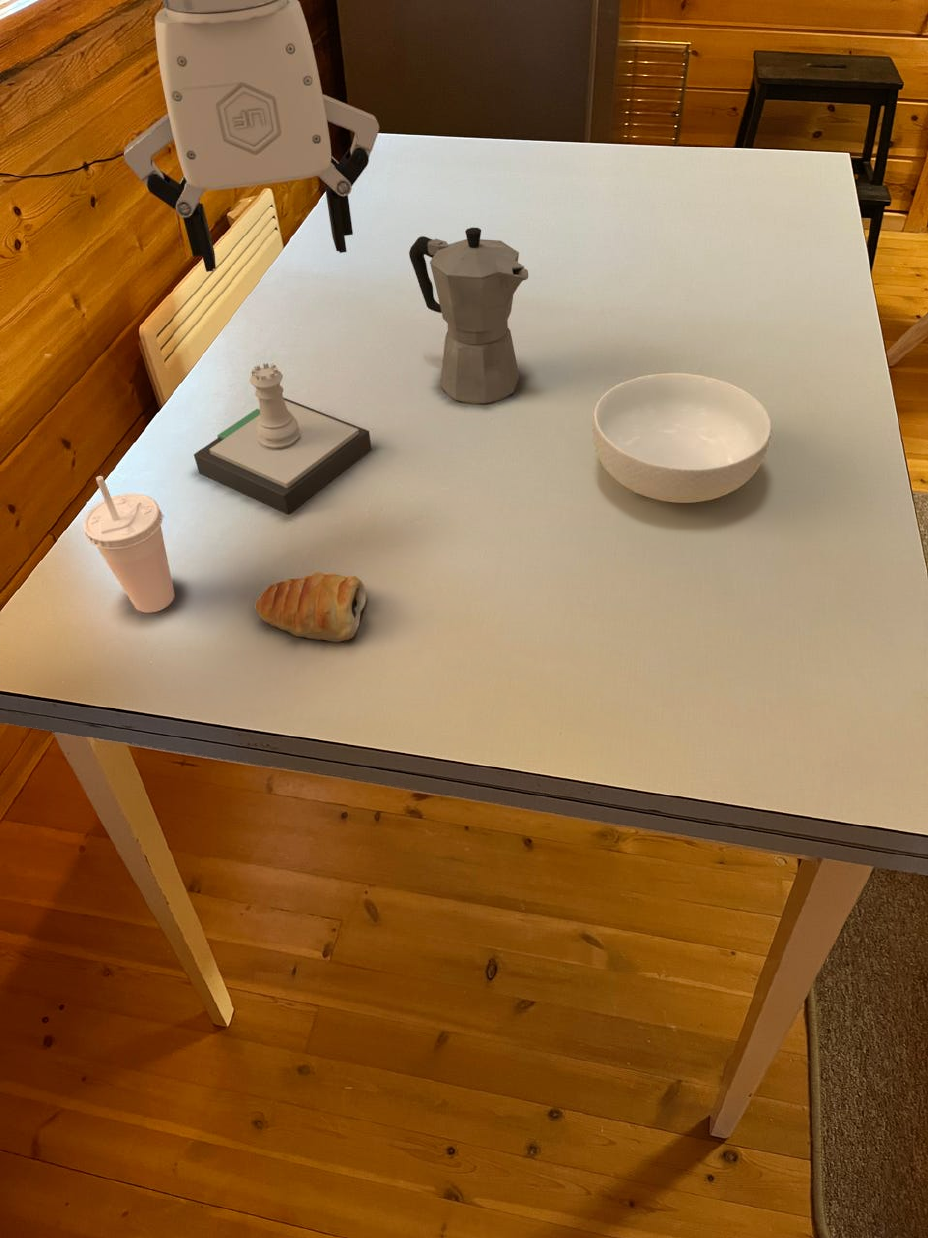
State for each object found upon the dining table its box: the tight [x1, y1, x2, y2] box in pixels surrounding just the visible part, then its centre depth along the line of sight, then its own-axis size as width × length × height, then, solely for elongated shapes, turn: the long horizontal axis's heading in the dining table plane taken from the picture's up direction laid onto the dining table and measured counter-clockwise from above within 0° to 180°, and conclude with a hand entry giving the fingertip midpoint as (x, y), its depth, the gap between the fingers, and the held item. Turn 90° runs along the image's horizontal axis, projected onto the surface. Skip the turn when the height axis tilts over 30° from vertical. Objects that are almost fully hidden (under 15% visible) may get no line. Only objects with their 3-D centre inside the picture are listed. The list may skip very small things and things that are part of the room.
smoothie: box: [82, 475, 176, 614], centre depth 80 cm, size 6×6×14 cm
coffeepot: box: [408, 227, 529, 405], centre depth 102 cm, size 15×9×18 cm, turn 53°
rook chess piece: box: [249, 362, 300, 449], centre depth 94 cm, size 4×4×8 cm
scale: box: [193, 396, 372, 515], centre depth 98 cm, size 13×13×3 cm
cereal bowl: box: [592, 372, 773, 504], centre depth 91 cm, size 17×17×7 cm
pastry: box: [254, 572, 367, 643], centre depth 81 cm, size 9×7×4 cm
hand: (275, 254), depth 69 cm, fingers open, 9 cm apart
